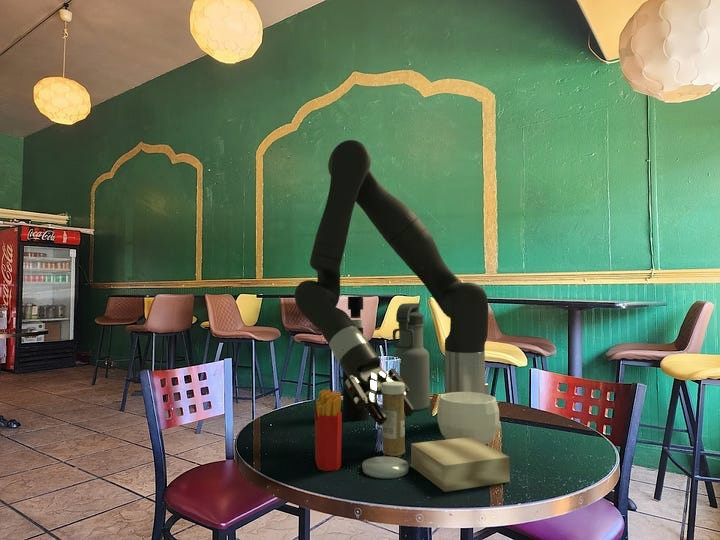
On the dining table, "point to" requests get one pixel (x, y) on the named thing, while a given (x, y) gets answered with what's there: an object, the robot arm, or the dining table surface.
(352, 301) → the black bottle
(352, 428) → the dining table surface
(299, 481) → the dining table surface
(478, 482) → the birch block
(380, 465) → the pale grey dome
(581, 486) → the dining table surface
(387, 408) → the sprinkles bottle
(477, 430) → the cup
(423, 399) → the water bottle
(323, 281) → the robot arm
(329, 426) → the french fries
